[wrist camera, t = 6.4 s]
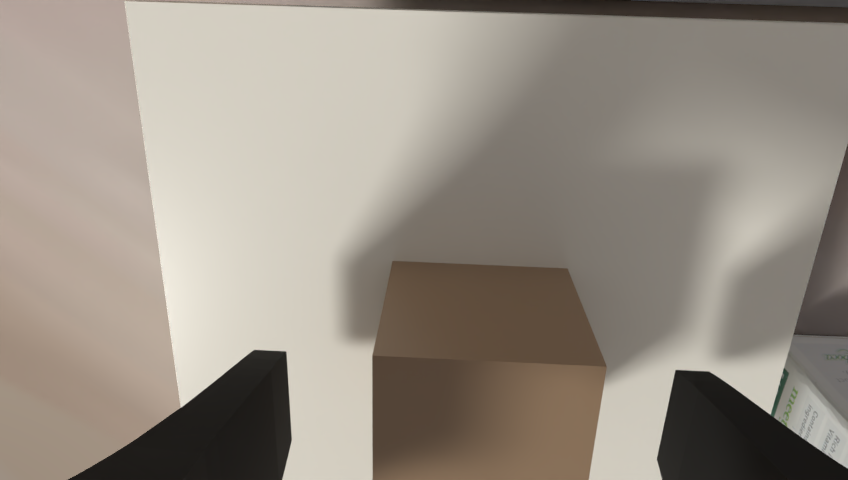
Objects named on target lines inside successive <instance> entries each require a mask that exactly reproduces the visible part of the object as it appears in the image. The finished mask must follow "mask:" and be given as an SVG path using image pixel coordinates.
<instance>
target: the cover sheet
mask: <svg viewBox="0 0 848 480" xmlns="http://www.w3.org/2000/svg"><path fill="white" fill-rule="evenodd" d="M124 2H125V9H126V17H127V24H128V31H129V38H130V45H131V53H132V60H133V67H134V74H135V81H136V89H137V96H138V103H139V110H140V117H141V125H142V132H143V139H144V146H145V153H146V161H147V168H148V175H149V182H150V189H151V197H152V204H153V211H154V218H155V225H156V233H157V240H158V247H159V254H160V261H161V269H162V276H163V283H164V290H165V297H166V305H167V312H168V319H169V326H170V333H171V341H172V348H173V355H174V362H175V369H176V377H177V384H178V391H179V398H180V405H181V407H183V406H184V405H185V404H186V403H188V402H189V401H190V400H192V399H193V398H194V397H195V396H197V395H198V394H199V393H201V392H202V391H203V390H204V389H206V388H207V387H208V386H209V385H211V384H212V383H213V382H215V381H216V380H217V379H218V378H220V377H221V376H222V375H223V374H224V373H226V372H227V371H228V370H229V369H231V368H232V367H233V366H234V365H235V364H237V363H238V362H239V361H240V360H242V359H243V358H244V357H245V356H247V355H248V354H249V353H251V352H252V351H253V350H268V351H286V353H287V369H288V386H289V402H290V419H291V435H292V442H291V446H290V450H289V454H288V458H287V463H286V467H285V471H284V475H283V478H282V480H662V477H661V473H660V469H659V466H658V462H657V456H658V451H659V446H660V441H661V436H662V432H663V427H664V422H665V417H666V413H667V408H668V403H669V398H670V394H671V389H672V384H673V379H674V374H675V370H689V371H709V372H711V373H712V374H714V375H716V376H717V377H719V378H720V379H722V380H723V381H725V382H726V383H728V384H729V385H730V386H732V387H733V388H735V389H736V390H737V391H739V392H740V393H741V394H743V395H744V396H746V397H747V398H748V399H750V400H751V401H752V402H754V403H755V404H756V405H758V406H759V407H760V408H762V409H763V410H765V411H766V412H767V413H769V414H770V415H771V412H772V408H773V405H774V401H775V398H776V394H777V391H778V387H779V383H780V380H781V376H782V373H783V369H784V366H785V362H786V359H787V355H788V352H789V348H790V345H791V341H792V338H793V334H794V331H795V327H796V324H797V320H798V317H799V313H800V310H801V306H802V303H803V299H804V296H805V292H806V289H807V285H808V281H809V278H810V274H811V271H812V267H813V264H814V260H815V257H816V253H817V250H818V246H819V243H820V239H821V236H822V232H823V229H824V225H825V222H826V218H827V215H828V211H829V208H830V204H831V201H832V197H833V194H834V190H835V187H836V183H837V179H838V176H839V172H840V169H841V165H842V162H843V158H844V155H845V151H846V148H847V144H848V23H828V22H797V21H766V20H736V19H705V18H674V17H643V16H613V15H582V14H551V13H520V12H490V11H459V10H428V9H397V8H366V7H336V6H305V5H274V4H243V3H213V2H182V1H151V0H134V1H124Z"/></svg>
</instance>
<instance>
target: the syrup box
mask: <svg viewBox="0 0 848 480" xmlns="http://www.w3.org/2000/svg"><path fill="white" fill-rule="evenodd" d="M771 416H773V417H774V418H775V419H777V420H778V421H780V422H781V423H782V424H784V425H785V426H786V427H788V428H789V429H791V430H792V431H793V432H795V433H796V434H798V435H799V436H800V437H802V438H803V439H805V440H806V441H807V442H809V443H810V444H812V445H813V446H815V447H816V448H817V449H819V450H820V451H822V452H823V453H825V454H826V455H828V456H829V457H831V458H832V459H834V460H835V461H837V462H838V463H840V464H841V465H843V466H844V467H846V468H847V469H848V337H838V336H812V335H793V338H792V341H791V345H790V348H789V352H788V355H787V359H786V362H785V366H784V369H783V373H782V376H781V380H780V383H779V387H778V391H777V394H776V398H775V401H774V405H773V408H772V412H771Z"/></svg>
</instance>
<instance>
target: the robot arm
mask: <svg viewBox="0 0 848 480" xmlns="http://www.w3.org/2000/svg"><path fill="white" fill-rule="evenodd" d="M291 442H292V435H291V419H290V402H289V386H288V369H287V353H286V351H268V350H253V351H252V352H251V353H249V354H248V355H247V356H245V357H244V358H243V359H242V360H240V361H239V362H238V363H237V364H235V365H234V366H233V367H232V368H231V369H229V370H228V371H227V372H226V373H224V374H223V375H222V376H221V377H220V378H218V379H217V380H216V381H215V382H213V383H212V384H211V385H209V386H208V387H207V388H206V389H204V390H203V391H202V392H201V393H199V394H198V395H197V396H195V397H194V398H193V399H192V400H190V401H189V402H188V403H186V404H185V405H184V406H183V407H181V408H180V409H178V410H177V411H176V412H174V413H173V414H171V415H170V416H169V417H167V418H166V419H164V420H163V421H161V422H160V423H159V424H157V425H156V426H154V427H153V428H152V429H150V430H149V431H147V432H146V433H144V434H143V435H142V436H140V437H139V438H137V439H136V440H134V441H133V442H131V443H130V444H128V445H127V446H125V447H123V448H122V449H120V450H119V451H117V452H115V453H114V454H112V455H111V456H109V457H107V458H105V459H104V460H102V461H100V462H99V463H97V464H95V465H93V466H92V467H90V468H88V469H86V470H85V471H83V472H81V473H79V474H78V475H76V476H74V477H72V478H70V479H68V480H282V478H283V475H284V471H285V467H286V463H287V458H288V454H289V450H290V446H291ZM657 462H658V466H659V469H660V473H661V477H662V480H848V469H847V468H846V467H844V466H843V465H841V464H840V463H838V462H837V461H835V460H834V459H832V458H831V457H829V456H828V455H826V454H825V453H823V452H822V451H820V450H819V449H817V448H816V447H815V446H813V445H812V444H810V443H809V442H807V441H806V440H805V439H803V438H802V437H800V436H799V435H798V434H796V433H795V432H793V431H792V430H791V429H789V428H788V427H786V426H785V425H784V424H782V423H781V422H780V421H778V420H777V419H775V418H774V417H773V416H771V415H770V414H769V413H767V412H766V411H765V410H763V409H762V408H760V407H759V406H758V405H756V404H755V403H754V402H752V401H751V400H750V399H748V398H747V397H746V396H744V395H743V394H741V393H740V392H739V391H737V390H736V389H735V388H733V387H732V386H730V385H729V384H728V383H726V382H725V381H723V380H722V379H720V378H719V377H717V376H716V375H714V374H712V373H711V372H709V371H689V370H675V374H674V379H673V384H672V389H671V394H670V398H669V403H668V408H667V413H666V417H665V422H664V427H663V432H662V436H661V441H660V446H659V451H658V456H657Z"/></svg>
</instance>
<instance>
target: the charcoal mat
mask: <svg viewBox="0 0 848 480" xmlns="http://www.w3.org/2000/svg"><path fill="white" fill-rule="evenodd" d="M633 1H664V2H695V3H726V4H757V5H788V6H820V7H848V0H633Z"/></svg>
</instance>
